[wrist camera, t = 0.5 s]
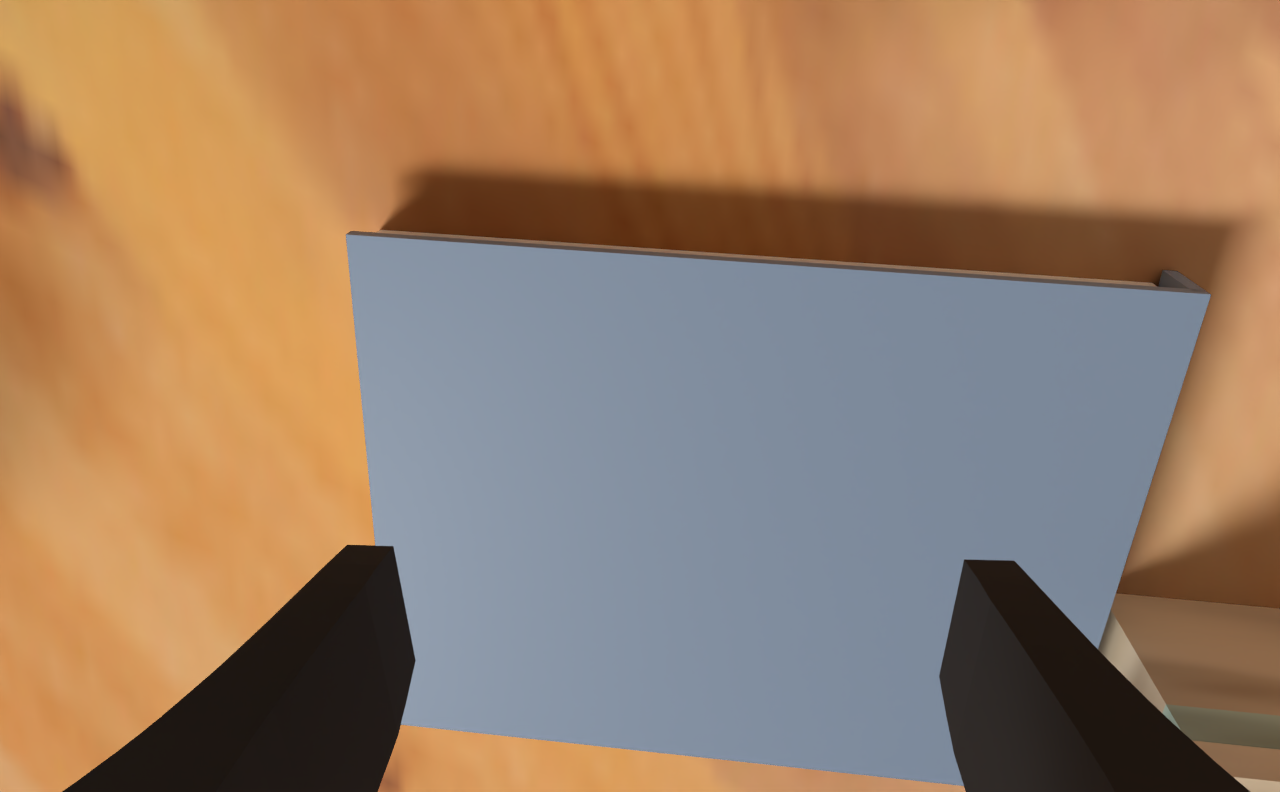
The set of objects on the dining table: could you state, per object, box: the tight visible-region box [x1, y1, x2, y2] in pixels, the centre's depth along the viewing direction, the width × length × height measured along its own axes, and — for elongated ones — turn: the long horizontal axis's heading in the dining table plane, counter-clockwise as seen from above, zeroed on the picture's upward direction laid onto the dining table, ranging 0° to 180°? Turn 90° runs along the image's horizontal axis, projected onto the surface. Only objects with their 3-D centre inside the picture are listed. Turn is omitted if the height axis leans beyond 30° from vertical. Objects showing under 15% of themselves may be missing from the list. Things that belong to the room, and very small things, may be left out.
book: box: [346, 230, 1211, 786], centre depth 23 cm, size 14×18×2 cm
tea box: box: [1098, 593, 1280, 792], centre depth 22 cm, size 5×7×6 cm
